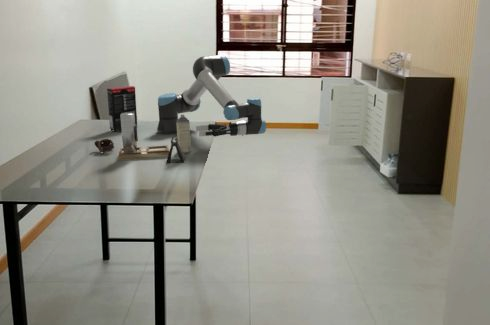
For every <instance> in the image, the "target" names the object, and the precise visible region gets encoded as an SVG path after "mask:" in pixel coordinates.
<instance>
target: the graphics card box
mask: <svg viewBox="0 0 490 325" xmlns="http://www.w3.org/2000/svg"><path fill="white" fill-rule="evenodd" d="M106 91H107V93H106V94H107V104H108V106H107V107H108V118H109V119H108V120H109V130H110V129H111V130H110V131H112V130H114V131H113V132H117V131H116V130H121V131H122V129H121V118H120V114H123V113H134V116H135V124H137V125H138V118H137V117H138V116H137V114H138V113H137V101H136V87H135V86H133V85H129V86H120V87H112V88H106Z"/></svg>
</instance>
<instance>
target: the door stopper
mask: <svg viewBox="0 0 490 325" xmlns="http://www.w3.org/2000/svg"><path fill="white" fill-rule="evenodd" d="M174 147H175V150H176V153H177V154H178V157H179V158H172V154H173V150H174ZM169 149H170V151H169V154H168V157H166V162H165V163H166V164H181V163H182V164H183V163H185V160H186V158H185V156H184V153H182V151H181V149H180V146H179V144H178V138H177V136H172V138H171V140H170V147H169Z"/></svg>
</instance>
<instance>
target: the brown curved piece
mask: <svg viewBox="0 0 490 325" xmlns="http://www.w3.org/2000/svg"><path fill="white" fill-rule="evenodd" d="M94 146H95V147H96V148H97V149H98V151H99V153H100V152H103V154H104V153H106V152H110V151H111V150H112V149H113V150H114V149H115V148H116V147H115V143H114V142H113V140H112V139H110V138H102V139H101V140H96V141H95V142H94ZM113 150H112V151H113Z"/></svg>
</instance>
